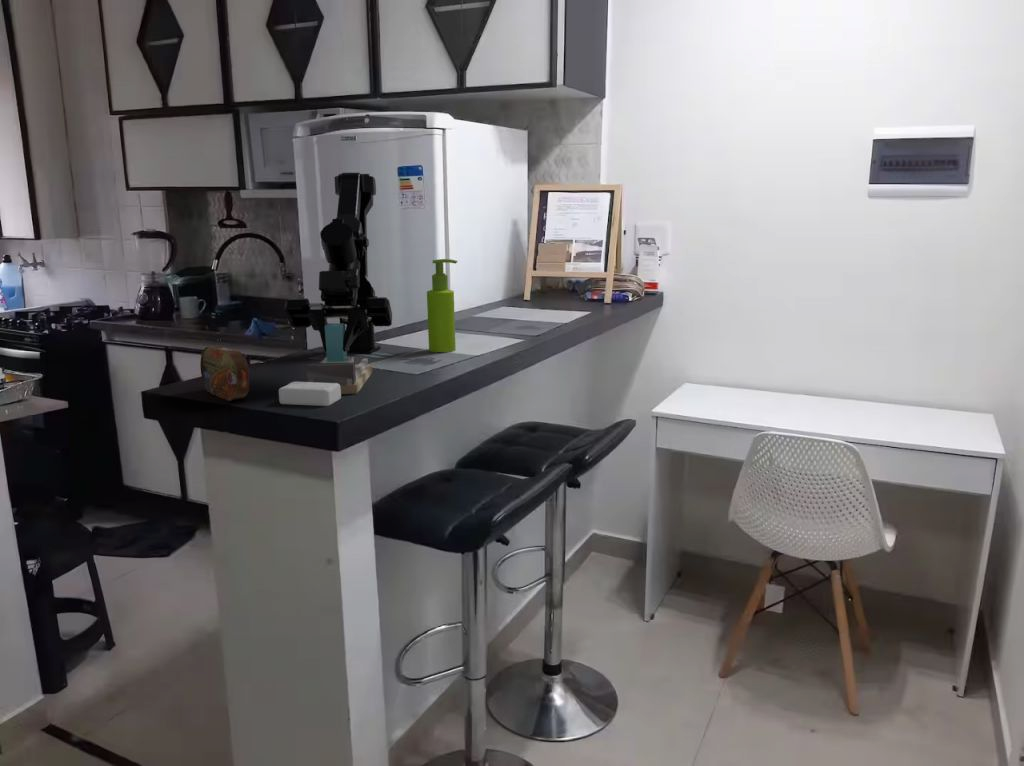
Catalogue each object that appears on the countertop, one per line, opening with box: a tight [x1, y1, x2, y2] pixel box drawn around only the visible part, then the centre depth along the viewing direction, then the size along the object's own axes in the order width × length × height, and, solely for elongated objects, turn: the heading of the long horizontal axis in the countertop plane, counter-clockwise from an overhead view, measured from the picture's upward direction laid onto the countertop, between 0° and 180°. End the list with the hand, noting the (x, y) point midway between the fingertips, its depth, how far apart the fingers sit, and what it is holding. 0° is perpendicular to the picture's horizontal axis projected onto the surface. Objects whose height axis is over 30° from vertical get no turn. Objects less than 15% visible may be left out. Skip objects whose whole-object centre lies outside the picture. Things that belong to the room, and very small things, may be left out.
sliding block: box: [320, 322, 355, 363], centre depth 136 cm, size 5×5×9 cm
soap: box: [278, 381, 342, 407], centre depth 127 cm, size 9×6×3 cm, turn 78°
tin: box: [199, 346, 250, 402], centre depth 130 cm, size 15×3×8 cm, turn 43°
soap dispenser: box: [426, 258, 459, 353], centre depth 167 cm, size 6×7×20 cm
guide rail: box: [305, 358, 373, 395], centre depth 139 cm, size 17×9×5 cm, turn 1°
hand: (334, 350), depth 135 cm, fingers closed on sliding block, 3 cm apart
